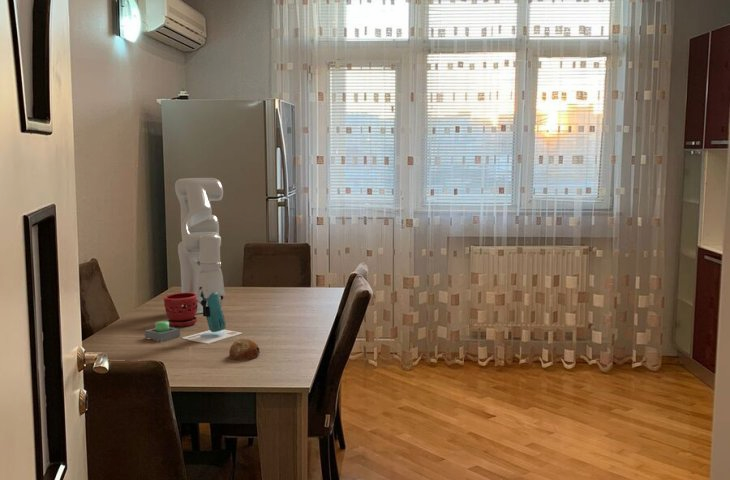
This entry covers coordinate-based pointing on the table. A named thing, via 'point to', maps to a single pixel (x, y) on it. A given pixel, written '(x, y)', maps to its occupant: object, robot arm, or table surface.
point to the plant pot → (181, 308)
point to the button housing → (162, 334)
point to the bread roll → (244, 350)
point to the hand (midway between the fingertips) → (211, 314)
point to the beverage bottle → (215, 313)
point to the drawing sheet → (211, 336)
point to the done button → (162, 326)
